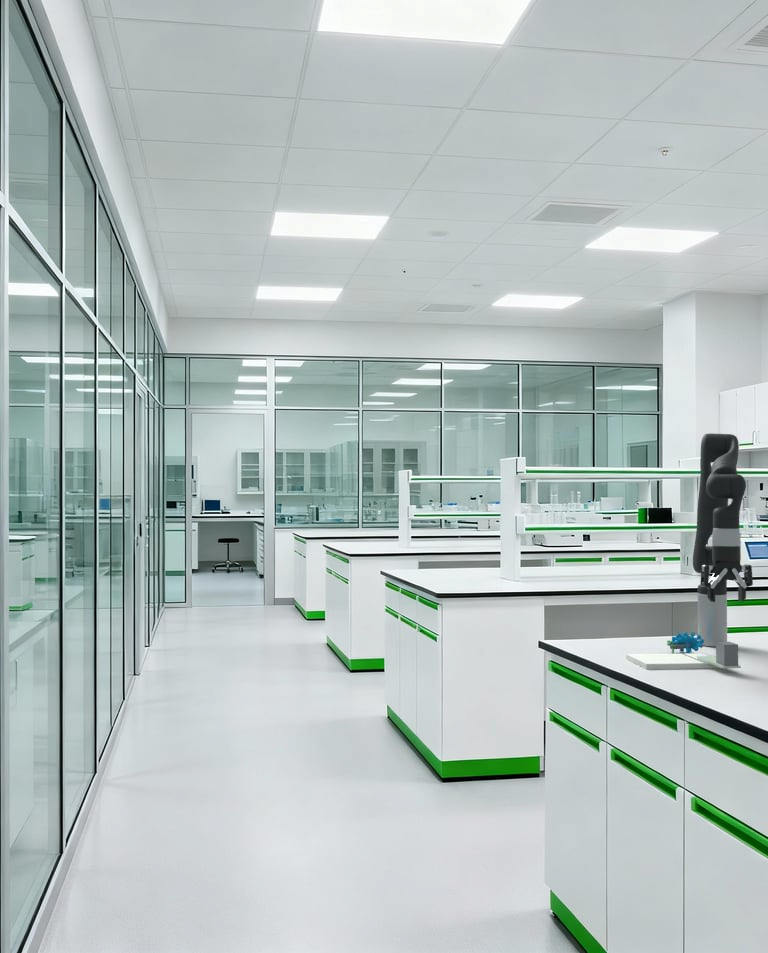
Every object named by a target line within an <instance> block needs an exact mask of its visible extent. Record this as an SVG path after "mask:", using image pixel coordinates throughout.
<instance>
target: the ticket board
mask: <svg viewBox="0 0 768 953" xmlns="http://www.w3.org/2000/svg"><path fill="white" fill-rule="evenodd" d="M697 656H708V655H707V654H704V653H701V652H700V653H699V652H697V653H693V652H692V653H691V652H690V653H689V654H686V653H683V652H681V653H674V654H672V653H637V654H636V653H626V655H625V659H626V660H627V661H628V662H631V663H633V664H634V665H637V666H639V667H642V668H643V669H645V670H678V669H679V670H682V669H683V670H684V669H687V670H688V669H691V670H694V669H695V670H696V669H700V670H701V669H721V668H720V667H717V666H715V665H712V664H710V663H708V662H705V661H703V660H700V659H698V658H697Z"/></svg>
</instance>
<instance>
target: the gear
mask: <svg viewBox="0 0 768 953" xmlns="http://www.w3.org/2000/svg"><path fill="white" fill-rule="evenodd" d="M695 636H696V637H695ZM699 639H700V640H699ZM698 640H699V641H698ZM702 643H704V640H703V639H701V636H700V635H698V634H697V635H696V633H695V632H693V631H691V632H690V635H689V634H688V632H687V631H683V632H682V634H681V633H679V632H677V633H675V636H671V640H669V639H668V640H667V643H666V645H667V646H669V649H670V650H671V654H675V650H679V652H681V653H683V652H684V651H685V654H689V653H691V652H692V653H693V651H692V650H694V652H697V651H699V648H700V649H702V648H703V647H704V645H703V644H702Z"/></svg>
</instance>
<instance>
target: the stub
mask: <svg viewBox="0 0 768 953" xmlns="http://www.w3.org/2000/svg"><path fill="white" fill-rule="evenodd" d="M697 658H698V659H700V660H703V661H705V662H708V663H710V664H712V665H715V666H717V667H720V668H719V669H741V665H739V644H738V643H735V642H731V641H727V642H716V647H715V655H707V656H697Z"/></svg>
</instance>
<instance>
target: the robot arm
mask: <svg viewBox="0 0 768 953" xmlns="http://www.w3.org/2000/svg"><path fill="white" fill-rule="evenodd" d="M739 444H740V443H739V439H738V437H737V436H736V435H734V434H731V433H705V434H703V436H702V437H701V442H700V470H699V473H700V478H699V488H698V489H699V490H698V496H697V512H696V513H697V514H696V515H697V516H696V533H695V540H694V546H693V553H692V568H693V570H694V572H696V573H697V574H700V582H699V583H700V584H698V586H697V635H700V636H701V639H703V640H704V643H702V644H703V647H713V648H716V642H728V602H727V600H728V598H727V597H728V594H727V593H728V592H727V591H728V589H727V588H728V587H727V584H728V581H733V582H735V583H736V585H737V587H738V588H737V600H738V601H739V602H742V603H743V602H745V600H746V598H747V588H749V587H750V586H751V587H752V586H753V584H754V582H753V581H754V580H753V579H754V578H753V569H752V564H744V565H743V564H741V560H742V558H741V557H742V556H741V555H742V554H741V543H742V540H741V533H740V512H741V506H742V502H743V499H744V495H745V494H746V493H745V492H746V488H747V483H746V479H745V477H744V476H743V475H741V474H738V470H737V465H738V460H739V451H740V450H739V449H740V445H739ZM729 500H732V501H731V503H730V504H729ZM710 538H711V546H709V545H707V544H708V542H709V539H710ZM741 571H742V572H743V577H742V576H741V575H740V573H741ZM710 574H712V576H711V577H710ZM699 640H700V639H699ZM699 640H697V641H699Z"/></svg>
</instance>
